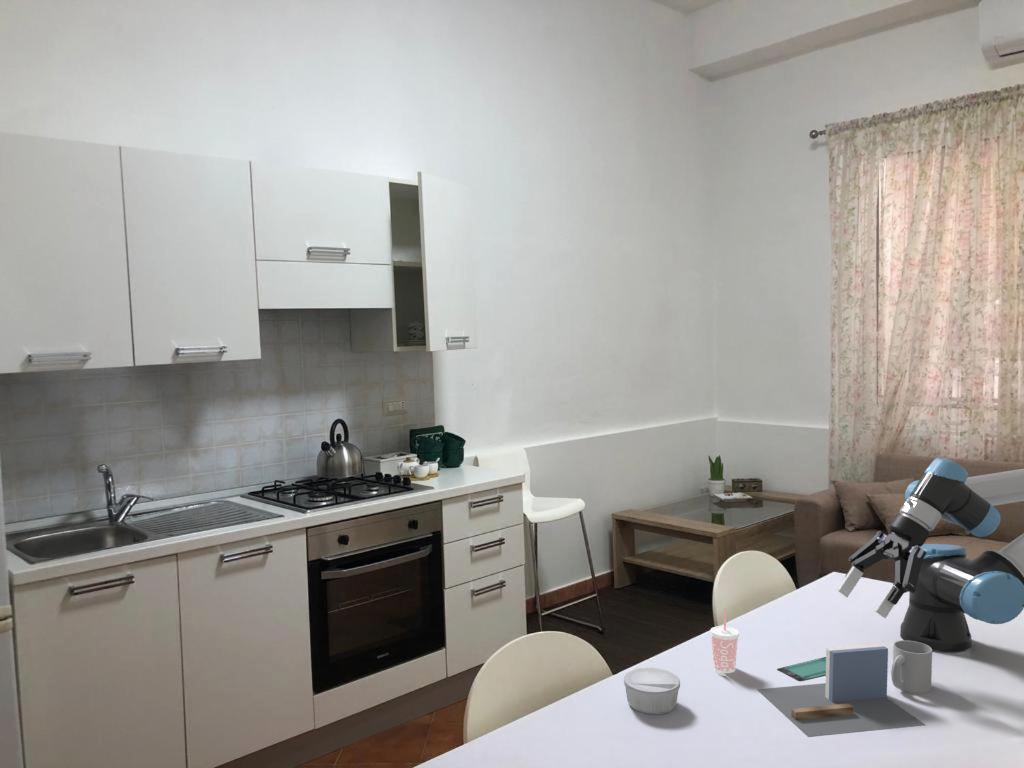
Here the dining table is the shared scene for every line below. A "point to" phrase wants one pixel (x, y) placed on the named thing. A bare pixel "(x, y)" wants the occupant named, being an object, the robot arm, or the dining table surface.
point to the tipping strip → (822, 711)
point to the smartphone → (806, 669)
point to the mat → (863, 719)
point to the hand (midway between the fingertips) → (860, 603)
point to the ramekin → (651, 690)
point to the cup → (912, 666)
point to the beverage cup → (724, 648)
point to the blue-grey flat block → (856, 672)
